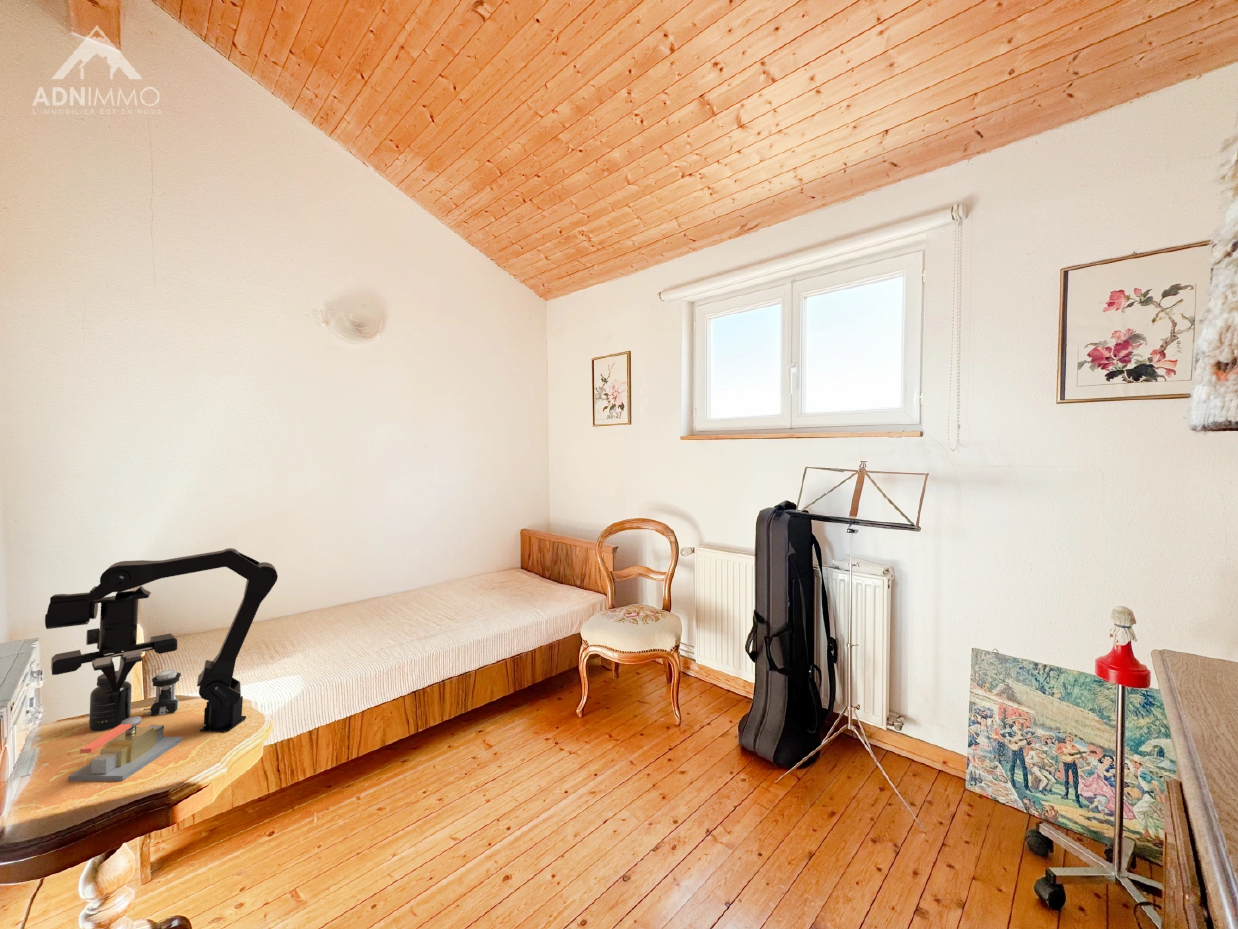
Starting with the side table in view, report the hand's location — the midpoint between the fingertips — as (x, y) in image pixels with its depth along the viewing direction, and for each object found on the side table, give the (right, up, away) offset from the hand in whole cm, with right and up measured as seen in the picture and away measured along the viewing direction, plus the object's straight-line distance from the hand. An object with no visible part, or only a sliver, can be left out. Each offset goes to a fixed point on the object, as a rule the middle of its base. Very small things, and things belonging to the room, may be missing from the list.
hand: (115, 691), depth 105 cm
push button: (-5, -13, +16) cm, 21 cm away
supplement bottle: (-12, -13, +10) cm, 20 cm away
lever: (+7, -6, -7) cm, 12 cm away
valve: (+6, -13, -3) cm, 15 cm away
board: (+6, -13, -3) cm, 15 cm away
